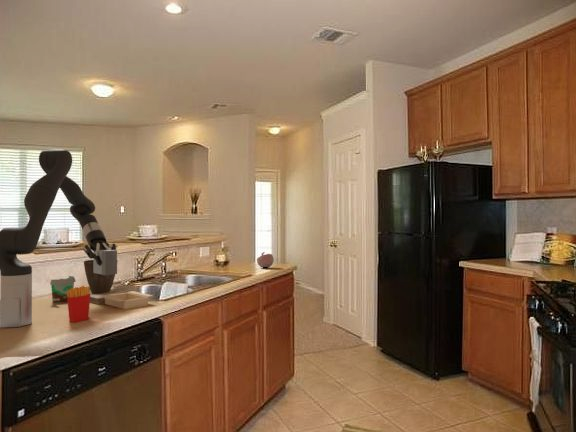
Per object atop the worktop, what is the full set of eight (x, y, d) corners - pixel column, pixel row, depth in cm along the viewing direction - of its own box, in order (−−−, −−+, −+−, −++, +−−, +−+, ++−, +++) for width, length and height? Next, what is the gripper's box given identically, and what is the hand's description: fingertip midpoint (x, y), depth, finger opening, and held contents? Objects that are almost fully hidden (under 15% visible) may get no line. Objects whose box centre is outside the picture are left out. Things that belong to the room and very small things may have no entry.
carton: (118, 312, 171) (118, 300, 171) (98, 306, 182) (98, 296, 182) (153, 306, 182) (153, 295, 182) (133, 301, 193) (133, 291, 193)
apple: (266, 266, 322) (266, 251, 322) (277, 268, 312) (277, 252, 312) (253, 268, 314) (253, 252, 314) (263, 269, 305) (263, 253, 305)
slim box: (105, 275, 185) (105, 251, 185) (93, 272, 192) (93, 249, 192) (117, 274, 189) (117, 250, 189) (104, 271, 196) (104, 249, 196)
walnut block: (98, 306, 182) (98, 298, 182) (85, 302, 190) (85, 295, 190) (125, 301, 191) (125, 294, 191) (111, 298, 199) (111, 291, 199)
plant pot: (84, 292, 215) (84, 259, 215) (117, 290, 220) (117, 258, 220) (82, 297, 201) (82, 262, 201) (117, 295, 206) (117, 261, 206)
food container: (62, 303, 188) (62, 280, 188) (50, 303, 189) (50, 279, 189) (81, 298, 200) (81, 276, 200) (69, 297, 201) (69, 275, 201)
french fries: (85, 317, 162) (84, 284, 162) (92, 318, 160) (92, 285, 160) (64, 322, 155) (64, 288, 155) (71, 323, 153) (71, 288, 153)
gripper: (80, 229, 190) (93, 259, 182) (112, 228, 201) (125, 256, 193) (75, 241, 194) (87, 271, 186) (106, 239, 204) (119, 268, 197)
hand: (107, 263), depth 189 cm, fingers closed on slim box, 5 cm apart
